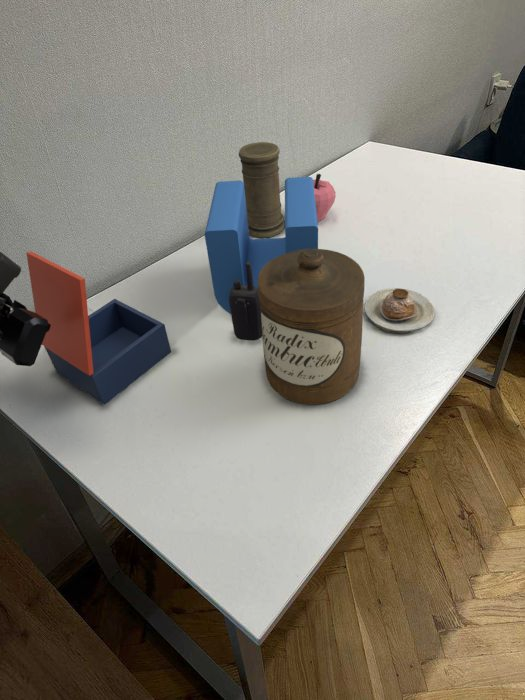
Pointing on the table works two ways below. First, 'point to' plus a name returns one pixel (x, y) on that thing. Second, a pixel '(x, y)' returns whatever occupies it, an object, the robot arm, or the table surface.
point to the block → (238, 248)
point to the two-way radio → (246, 309)
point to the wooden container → (312, 324)
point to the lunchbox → (117, 350)
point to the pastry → (399, 310)
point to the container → (262, 188)
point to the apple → (323, 197)
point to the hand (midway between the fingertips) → (48, 327)
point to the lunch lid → (62, 311)
